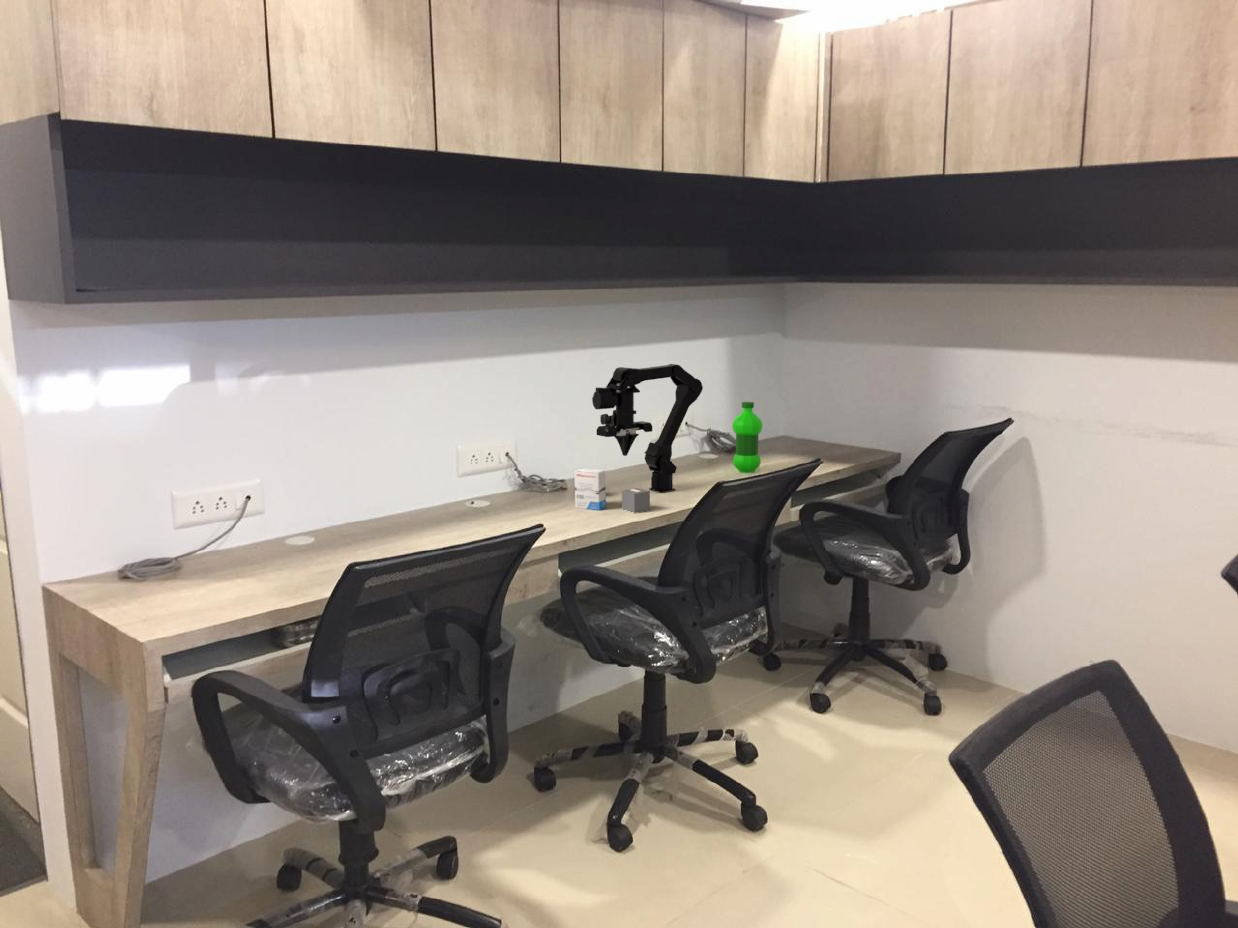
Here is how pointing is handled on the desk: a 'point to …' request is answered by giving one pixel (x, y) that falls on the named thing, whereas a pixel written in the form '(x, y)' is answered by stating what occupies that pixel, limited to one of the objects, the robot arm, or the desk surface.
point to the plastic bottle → (747, 439)
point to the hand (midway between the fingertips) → (624, 455)
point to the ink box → (590, 489)
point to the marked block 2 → (636, 500)
